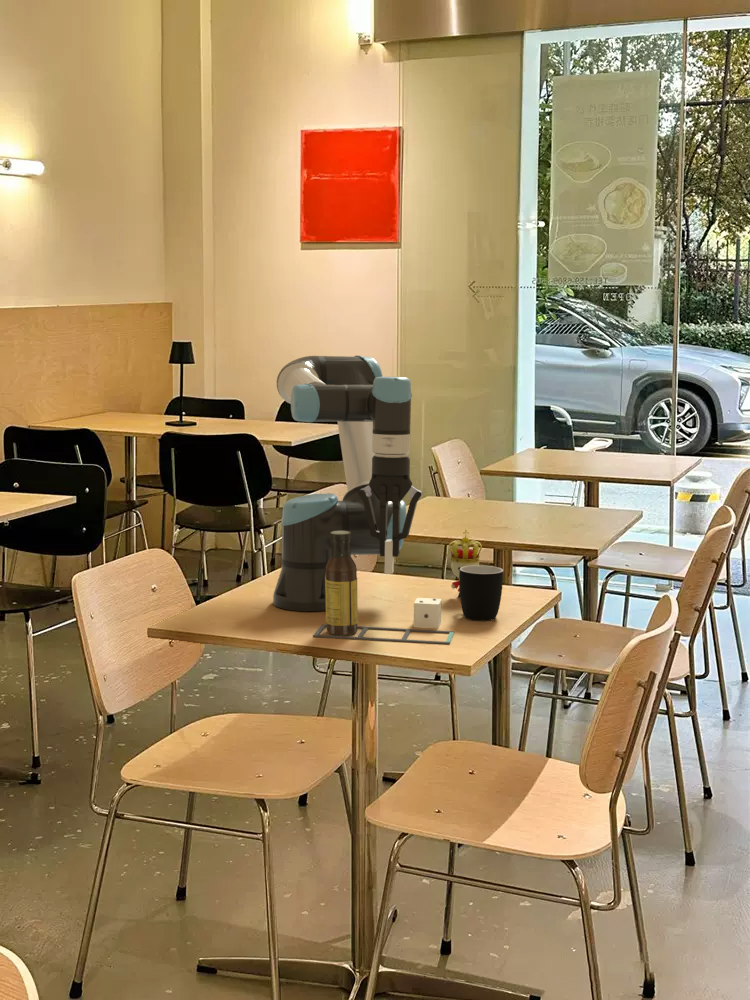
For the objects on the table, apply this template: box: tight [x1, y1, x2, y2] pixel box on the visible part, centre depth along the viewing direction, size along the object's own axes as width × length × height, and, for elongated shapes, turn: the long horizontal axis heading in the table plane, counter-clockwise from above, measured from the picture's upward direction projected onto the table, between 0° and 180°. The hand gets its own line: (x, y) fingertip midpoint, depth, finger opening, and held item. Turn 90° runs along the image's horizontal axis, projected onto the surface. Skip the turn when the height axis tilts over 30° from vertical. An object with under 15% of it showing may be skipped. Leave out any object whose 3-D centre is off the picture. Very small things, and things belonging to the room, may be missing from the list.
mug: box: [458, 564, 504, 622], centre depth 261 cm, size 12×9×10 cm
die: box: [412, 597, 442, 630], centre depth 253 cm, size 5×5×5 cm
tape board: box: [312, 623, 455, 645], centre depth 245 cm, size 9×26×1 cm, turn 81°
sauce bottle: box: [325, 531, 359, 636], centre depth 245 cm, size 6×6×20 cm
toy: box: [448, 529, 483, 598], centre depth 279 cm, size 7×7×15 cm
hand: (389, 572), depth 253 cm, fingers closed
